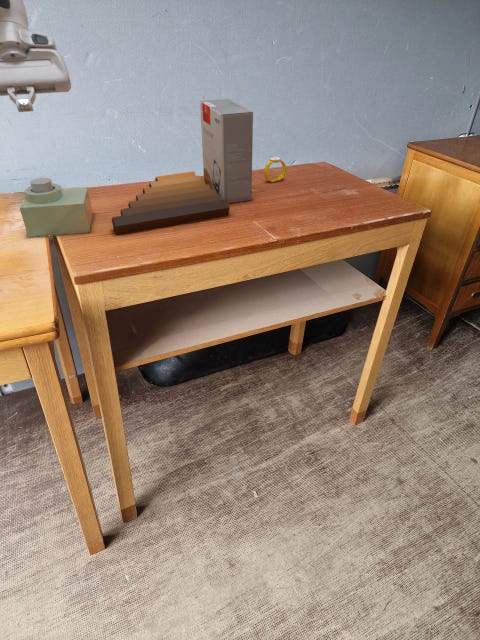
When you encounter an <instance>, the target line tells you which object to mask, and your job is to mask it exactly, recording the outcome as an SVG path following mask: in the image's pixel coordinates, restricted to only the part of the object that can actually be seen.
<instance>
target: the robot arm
mask: <svg viewBox="0 0 480 640" xmlns="http://www.w3.org/2000/svg"><path fill="white" fill-rule="evenodd" d="M71 89H72V81H71V77H70V73H69V69H68V67H67V65H66V62H65V60H64V57H63V56H62V54H61V53H60V52H59V51H58V49H57V46H56V43H55V39H54V38H53V37H52V36H49V35H44V34H40V33H37V32H33V31H30V30H29V18H28V14H27V10H26V6H25V3H24V0H0V97H4V96H8V97H9V100H11V101H12V103H13V104H15V105H16V108H17V111H18V113H28V112H34V107H33V104H34V103H35V101H36V98H37V95H39V94H56V93H57V94H58V93H68V92H69V91H70V90H71ZM21 95H22V96H23V95H28V96H27V98H24V99H19V97H18V96H21Z"/></svg>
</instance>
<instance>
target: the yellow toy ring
mask: <svg viewBox="0 0 480 640" xmlns="http://www.w3.org/2000/svg"><path fill="white" fill-rule="evenodd" d="M273 163H276V164H277V163H280V164H281V168H282V169H281V173H280V175H279V176H277V177H276V178H272V179H270V177H269V168H270V166H271V165H273ZM286 165H287V164H286V163H285V162H284V160H282V158H281V157H279V156H272V157H269V160H268V161H267V163H265V166H264V169H263V175H264V177H265V179H266V180H267V181H268V182H270V183H275V182H280V181H282V180H283V179H284V177H285V175H286V172H287V166H286Z"/></svg>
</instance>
